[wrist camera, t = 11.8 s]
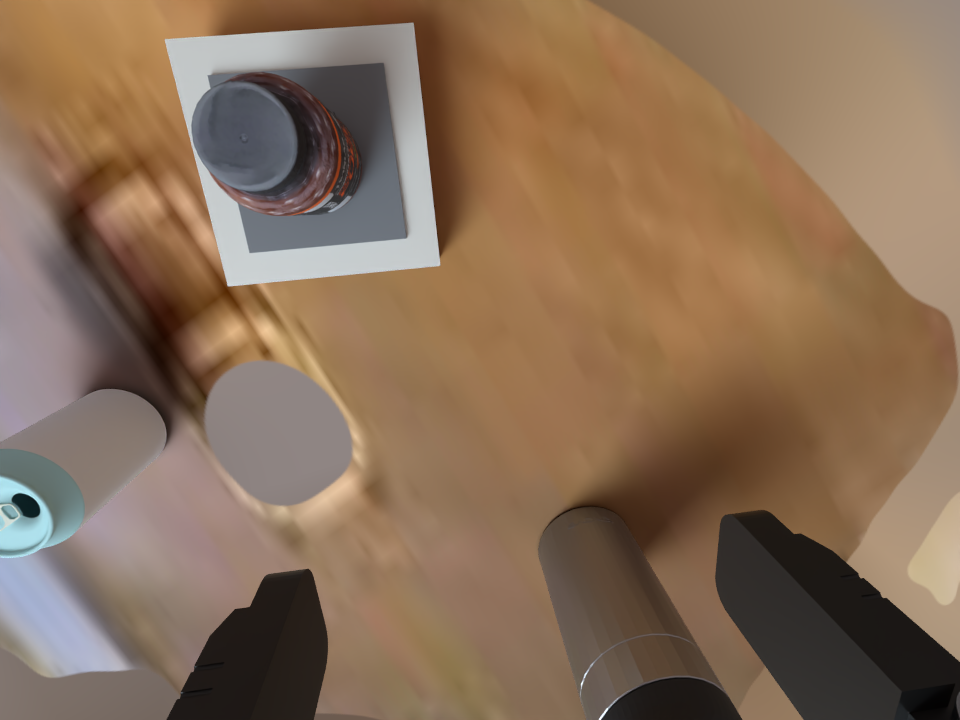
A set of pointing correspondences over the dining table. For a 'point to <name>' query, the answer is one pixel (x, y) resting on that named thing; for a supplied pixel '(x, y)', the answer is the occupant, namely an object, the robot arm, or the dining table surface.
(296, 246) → the white and gray stand
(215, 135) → the supplement bottle
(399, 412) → the dining table surface
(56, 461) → the can
